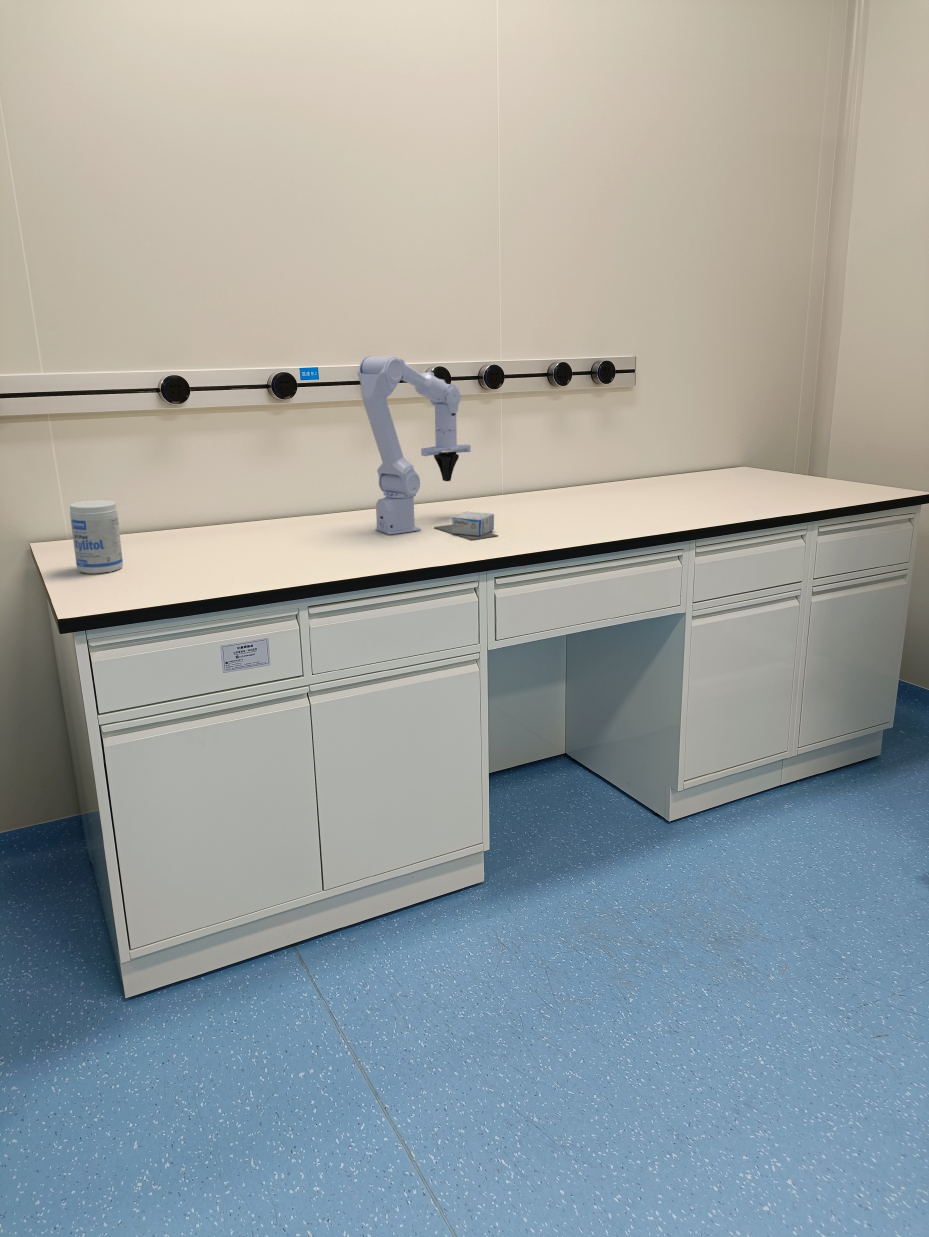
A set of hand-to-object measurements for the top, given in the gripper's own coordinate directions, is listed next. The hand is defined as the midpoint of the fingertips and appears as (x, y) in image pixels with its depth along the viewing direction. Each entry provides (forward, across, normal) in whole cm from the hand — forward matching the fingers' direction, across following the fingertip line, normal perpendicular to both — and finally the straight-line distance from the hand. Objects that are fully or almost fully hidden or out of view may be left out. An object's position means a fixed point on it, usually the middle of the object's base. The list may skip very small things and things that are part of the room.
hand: (446, 480), depth 244 cm
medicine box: (+8, -1, -18) cm, 20 cm away
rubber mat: (+10, -6, -18) cm, 21 cm away
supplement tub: (+11, -92, -3) cm, 93 cm away
